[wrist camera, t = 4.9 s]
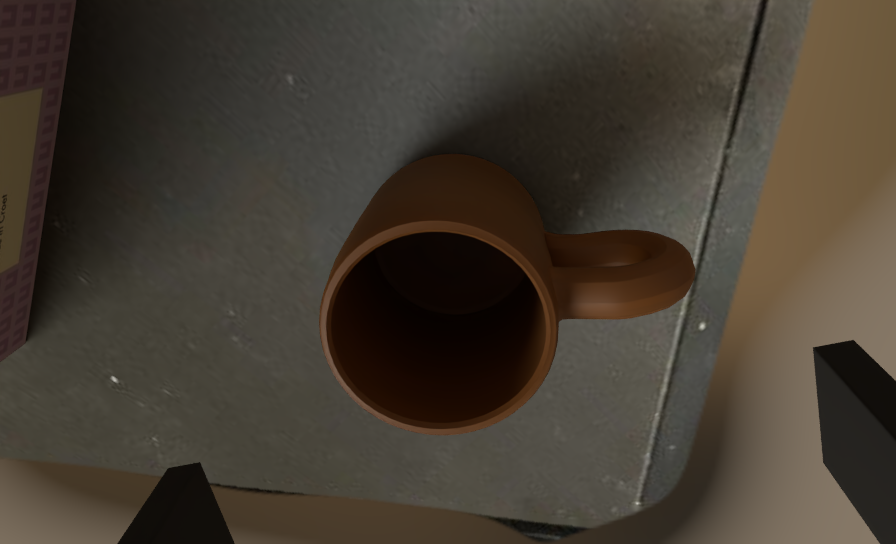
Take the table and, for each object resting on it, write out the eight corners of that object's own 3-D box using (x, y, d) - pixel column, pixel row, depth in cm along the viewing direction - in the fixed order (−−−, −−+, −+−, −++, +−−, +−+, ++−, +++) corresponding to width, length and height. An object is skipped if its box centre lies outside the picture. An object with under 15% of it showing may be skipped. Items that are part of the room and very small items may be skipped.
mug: (641, 111, 29) (703, 164, 20) (660, 289, 32) (723, 404, 23) (345, 166, 31) (284, 238, 22) (386, 332, 33) (346, 456, 24)
